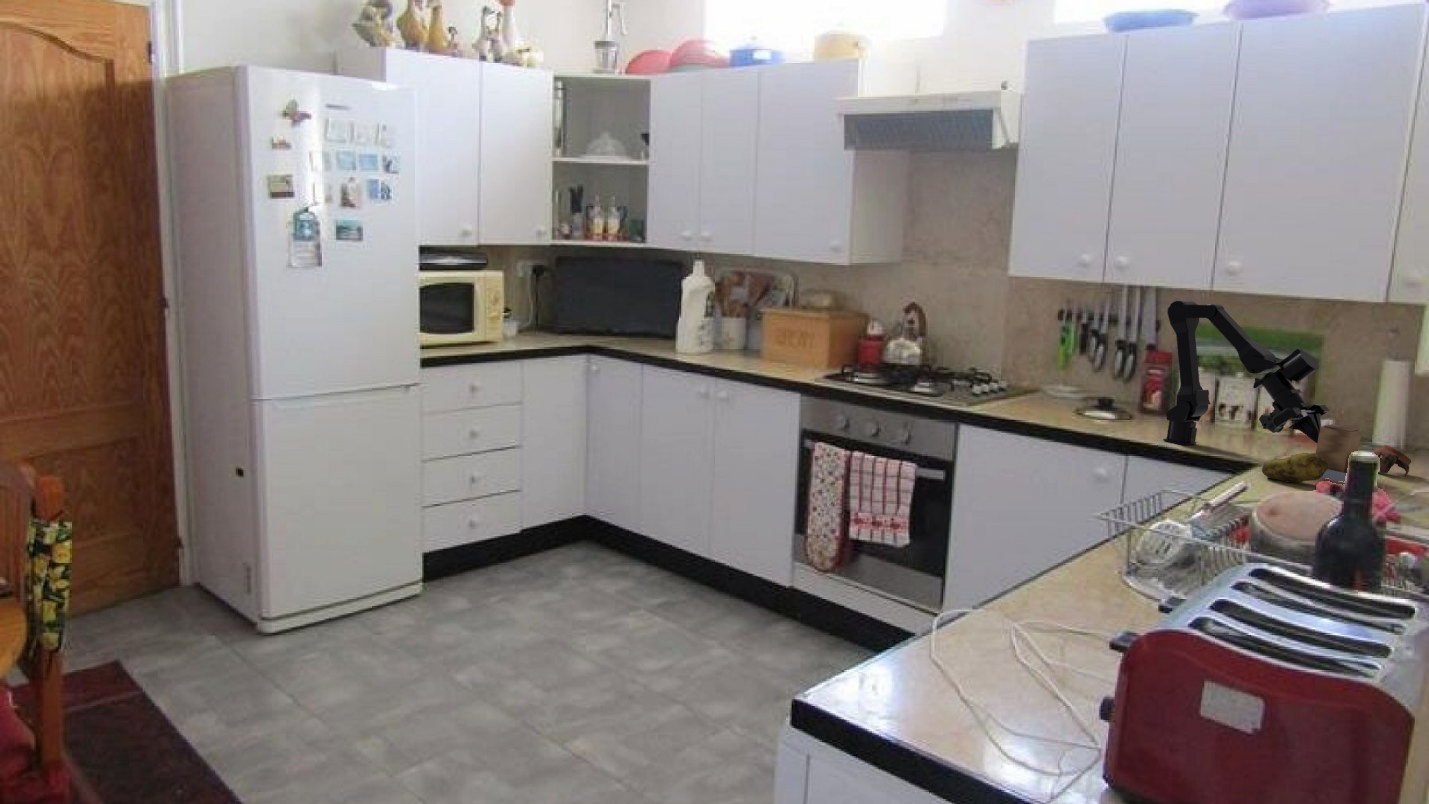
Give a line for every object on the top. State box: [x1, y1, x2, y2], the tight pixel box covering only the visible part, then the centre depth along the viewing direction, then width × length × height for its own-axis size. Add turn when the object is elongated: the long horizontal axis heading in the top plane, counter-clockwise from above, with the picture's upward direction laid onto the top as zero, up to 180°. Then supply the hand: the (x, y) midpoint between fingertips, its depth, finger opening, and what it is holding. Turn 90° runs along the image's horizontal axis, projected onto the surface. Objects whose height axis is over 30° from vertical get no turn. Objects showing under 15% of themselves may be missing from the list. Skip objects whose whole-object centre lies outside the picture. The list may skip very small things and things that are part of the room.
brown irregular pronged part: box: [1372, 444, 1412, 477], centre depth 262 cm, size 12×10×8 cm
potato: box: [1261, 452, 1328, 483], centre depth 244 cm, size 8×13×8 cm, turn 32°
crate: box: [1315, 423, 1363, 473], centre depth 253 cm, size 7×6×12 cm
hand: (1321, 443), depth 256 cm, fingers closed, pressing on crate
